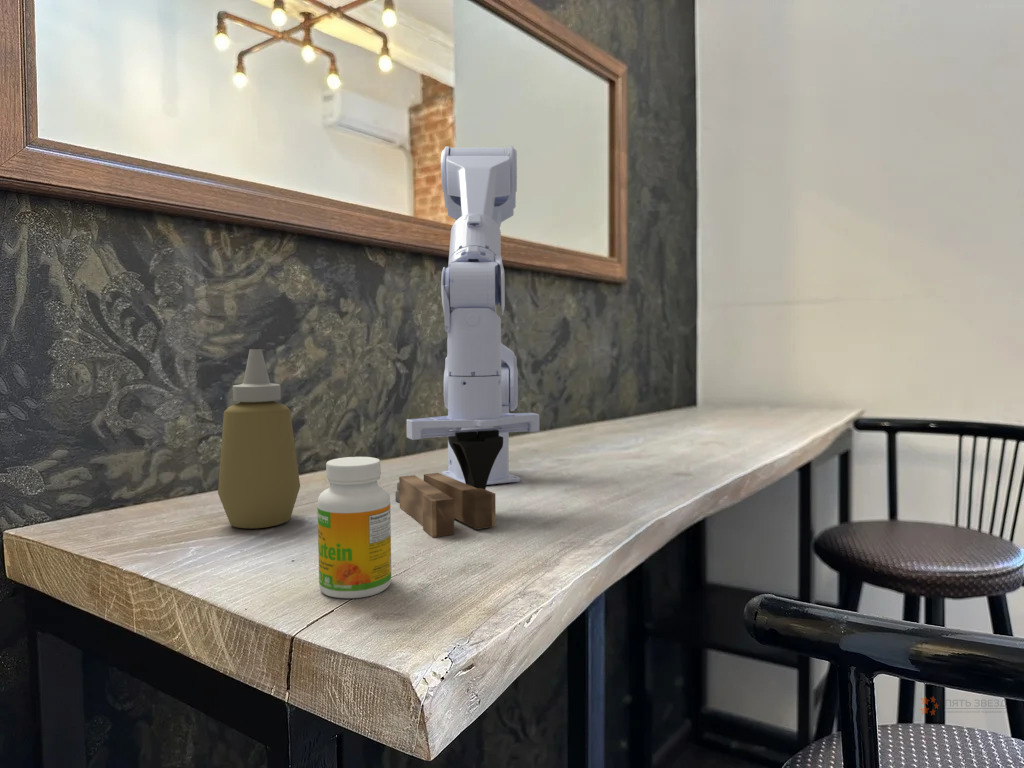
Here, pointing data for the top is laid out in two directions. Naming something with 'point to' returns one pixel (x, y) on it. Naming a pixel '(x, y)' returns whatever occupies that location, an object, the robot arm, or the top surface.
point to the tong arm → (466, 500)
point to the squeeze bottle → (258, 452)
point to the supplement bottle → (354, 530)
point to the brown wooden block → (426, 505)
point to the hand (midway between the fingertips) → (475, 501)
